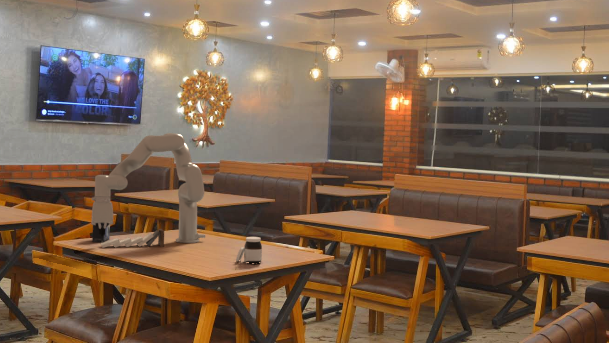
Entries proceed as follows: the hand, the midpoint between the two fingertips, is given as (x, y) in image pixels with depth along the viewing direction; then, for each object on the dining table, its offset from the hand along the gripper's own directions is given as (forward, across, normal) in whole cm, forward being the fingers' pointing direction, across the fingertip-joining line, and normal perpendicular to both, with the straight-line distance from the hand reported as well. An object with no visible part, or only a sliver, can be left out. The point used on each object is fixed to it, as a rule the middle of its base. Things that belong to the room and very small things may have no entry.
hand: (102, 236), depth 359 cm
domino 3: (+5, +12, 0) cm, 13 cm away
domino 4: (+5, +18, 0) cm, 18 cm away
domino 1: (+5, 0, 0) cm, 5 cm away
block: (+6, +30, 0) cm, 30 cm away
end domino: (+5, +23, 0) cm, 23 cm away
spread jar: (+6, +60, -54) cm, 81 cm away
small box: (+6, +2, +20) cm, 21 cm away
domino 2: (+5, +6, 0) cm, 8 cm away
